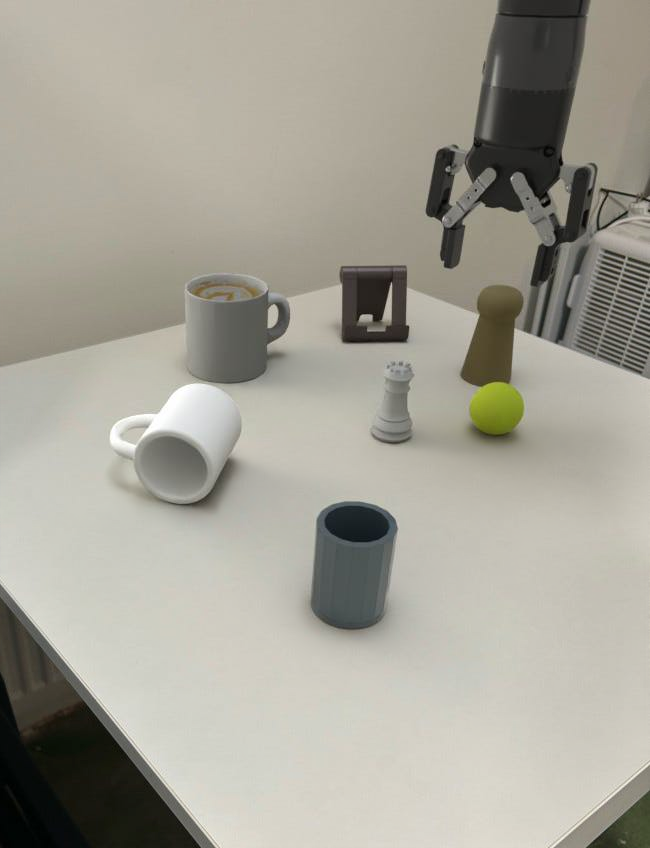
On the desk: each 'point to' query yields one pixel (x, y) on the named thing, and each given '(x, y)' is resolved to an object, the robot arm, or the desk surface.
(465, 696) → the desk surface
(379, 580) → the cup
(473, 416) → the ball
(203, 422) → the mug
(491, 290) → the brown game pawn
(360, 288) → the tablet stand
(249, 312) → the coffee mug
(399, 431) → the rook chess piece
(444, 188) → the robot arm
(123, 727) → the desk surface
